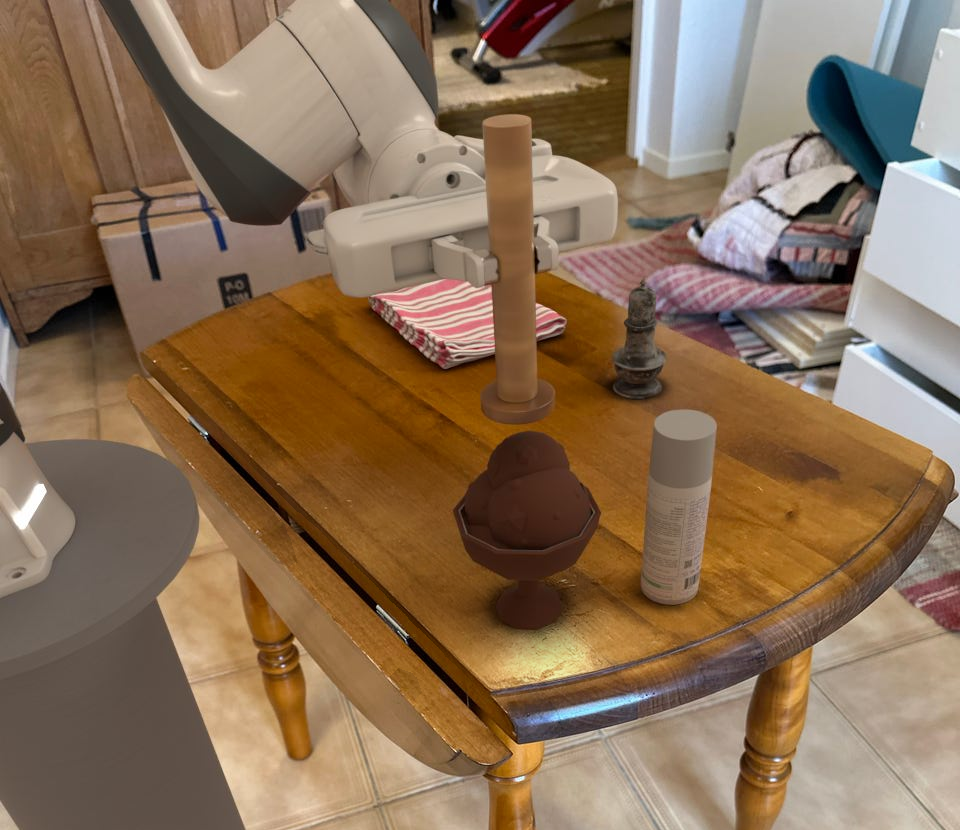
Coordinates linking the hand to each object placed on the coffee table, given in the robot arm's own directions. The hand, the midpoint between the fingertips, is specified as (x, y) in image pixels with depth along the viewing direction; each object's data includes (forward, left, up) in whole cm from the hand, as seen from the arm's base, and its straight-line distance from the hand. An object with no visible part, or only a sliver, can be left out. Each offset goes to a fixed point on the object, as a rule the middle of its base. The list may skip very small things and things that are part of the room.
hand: (518, 266), depth 58 cm
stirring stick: (0, +1, -10) cm, 10 cm away
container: (+9, -7, -28) cm, 30 cm away
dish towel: (+35, +45, -28) cm, 63 cm away
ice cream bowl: (0, 0, -28) cm, 28 cm away
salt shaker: (+35, +17, -28) cm, 47 cm away
